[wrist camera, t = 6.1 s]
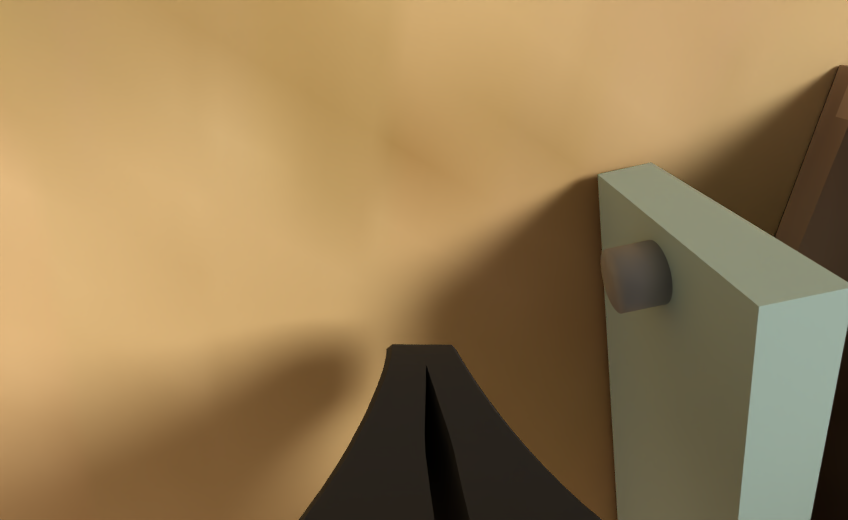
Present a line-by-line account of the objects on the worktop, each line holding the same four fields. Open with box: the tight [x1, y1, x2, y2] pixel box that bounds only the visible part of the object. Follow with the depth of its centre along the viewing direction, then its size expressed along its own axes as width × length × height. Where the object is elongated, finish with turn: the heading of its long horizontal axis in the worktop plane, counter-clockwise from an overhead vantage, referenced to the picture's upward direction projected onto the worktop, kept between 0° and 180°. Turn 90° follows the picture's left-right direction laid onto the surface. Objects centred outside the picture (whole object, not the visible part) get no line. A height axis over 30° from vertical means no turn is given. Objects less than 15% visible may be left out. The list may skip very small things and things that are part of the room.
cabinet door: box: [598, 163, 848, 520], centre depth 12 cm, size 14×2×6 cm, turn 12°
